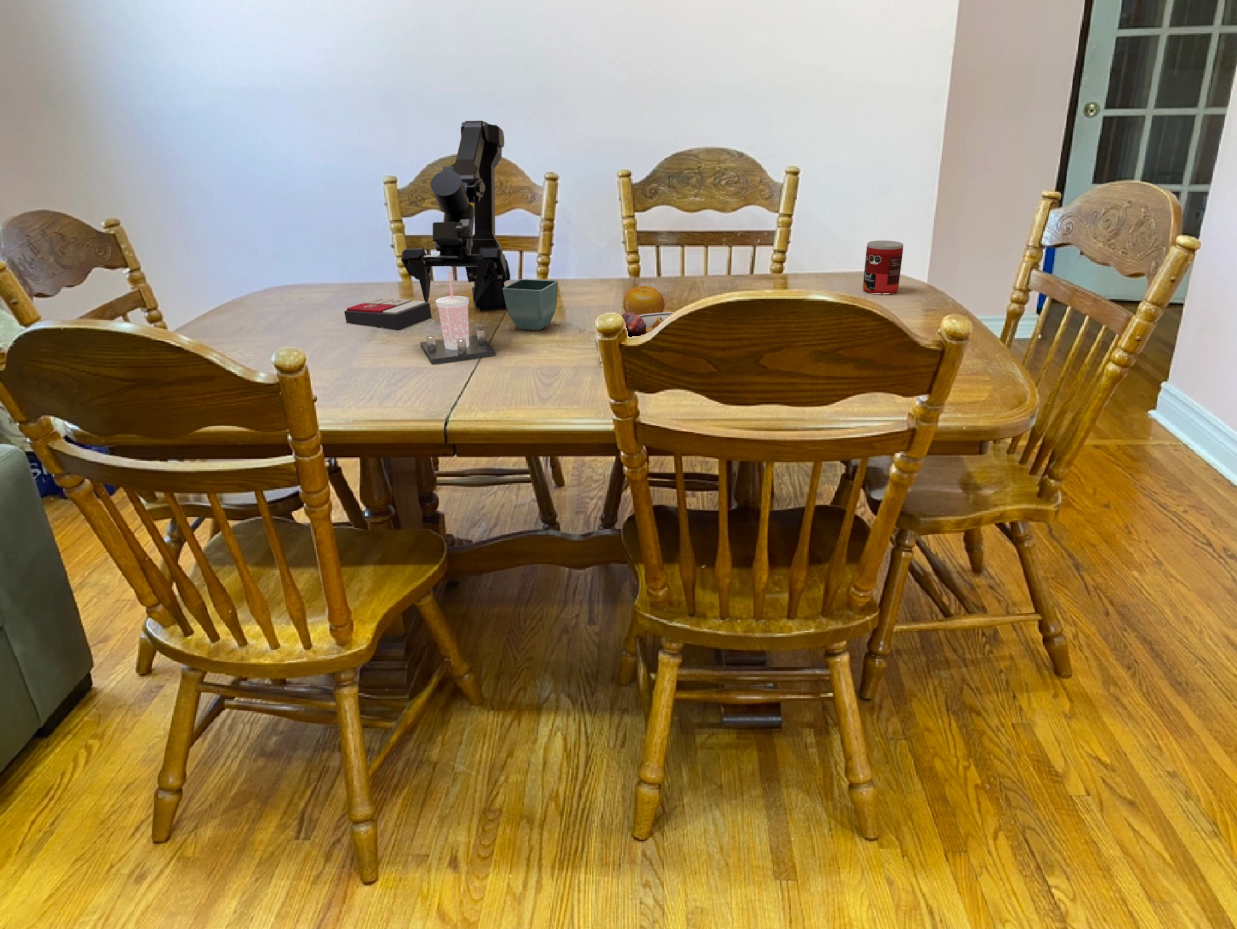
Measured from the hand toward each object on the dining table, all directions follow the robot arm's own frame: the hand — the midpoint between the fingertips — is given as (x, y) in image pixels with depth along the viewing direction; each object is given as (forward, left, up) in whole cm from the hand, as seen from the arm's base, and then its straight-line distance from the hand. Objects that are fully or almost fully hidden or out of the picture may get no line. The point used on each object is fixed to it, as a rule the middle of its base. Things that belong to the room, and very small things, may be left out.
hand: (450, 301), depth 156 cm
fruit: (-42, -6, -10) cm, 43 cm away
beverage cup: (-1, -1, -9) cm, 9 cm away
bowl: (-37, +21, -11) cm, 43 cm away
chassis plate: (-1, -1, -10) cm, 10 cm away
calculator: (+8, -31, -11) cm, 34 cm away
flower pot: (-19, -11, -10) cm, 24 cm away
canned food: (-101, -4, -10) cm, 101 cm away
